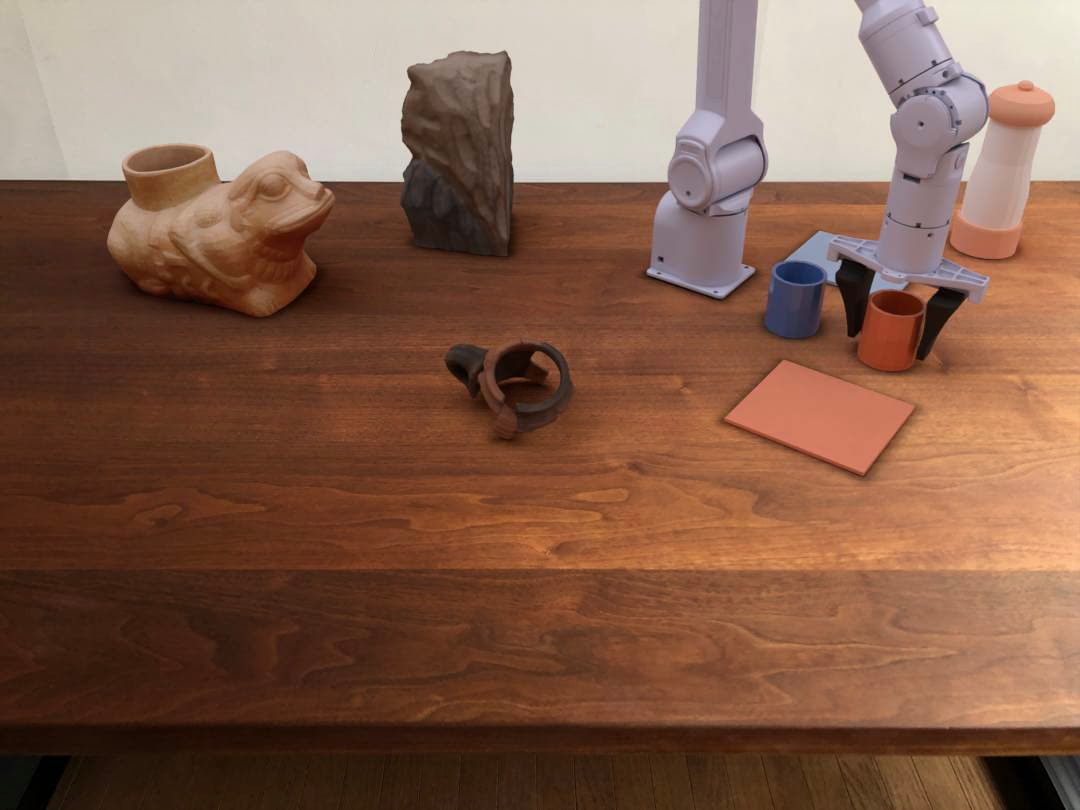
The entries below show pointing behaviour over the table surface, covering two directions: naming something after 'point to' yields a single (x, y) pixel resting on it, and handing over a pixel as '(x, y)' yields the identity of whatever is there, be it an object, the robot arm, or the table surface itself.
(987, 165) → the salt shaker
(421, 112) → the grey brown rock
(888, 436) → the coral mat
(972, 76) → the robot arm
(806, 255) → the blue mat
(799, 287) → the blue cup
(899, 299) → the terracotta cup
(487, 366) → the dark brown ring-shaped piece
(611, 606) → the table surface
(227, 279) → the ceramic vessel
